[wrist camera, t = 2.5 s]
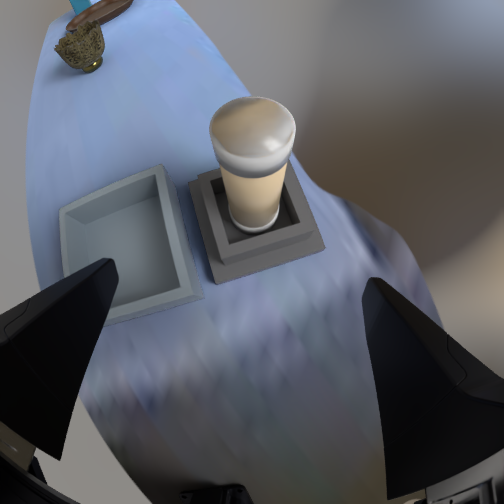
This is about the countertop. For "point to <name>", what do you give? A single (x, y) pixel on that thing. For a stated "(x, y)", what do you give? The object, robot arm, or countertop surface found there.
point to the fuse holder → (249, 246)
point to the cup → (83, 47)
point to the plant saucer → (99, 13)
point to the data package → (80, 5)
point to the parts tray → (133, 243)
